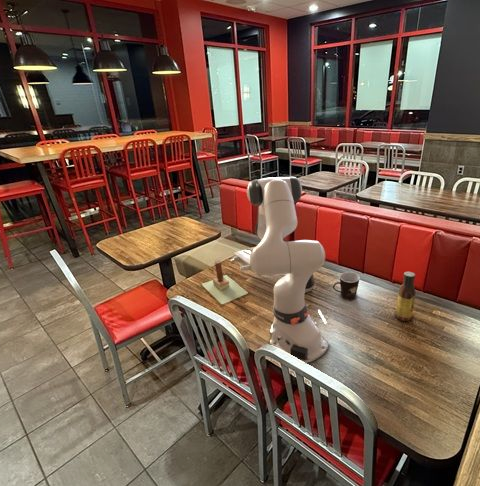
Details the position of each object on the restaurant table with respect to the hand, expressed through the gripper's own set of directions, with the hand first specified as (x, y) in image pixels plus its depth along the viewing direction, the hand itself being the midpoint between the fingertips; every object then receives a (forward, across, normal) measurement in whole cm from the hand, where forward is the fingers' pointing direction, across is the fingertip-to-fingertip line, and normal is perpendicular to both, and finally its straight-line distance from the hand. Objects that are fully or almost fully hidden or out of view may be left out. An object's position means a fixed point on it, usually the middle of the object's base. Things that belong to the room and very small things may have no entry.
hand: (235, 265), depth 153 cm
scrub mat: (+9, +3, +9) cm, 13 cm away
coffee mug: (-31, +44, +9) cm, 55 cm away
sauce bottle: (-38, +69, +9) cm, 79 cm away
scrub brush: (+9, 0, +8) cm, 12 cm away
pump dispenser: (-20, +28, +9) cm, 36 cm away
